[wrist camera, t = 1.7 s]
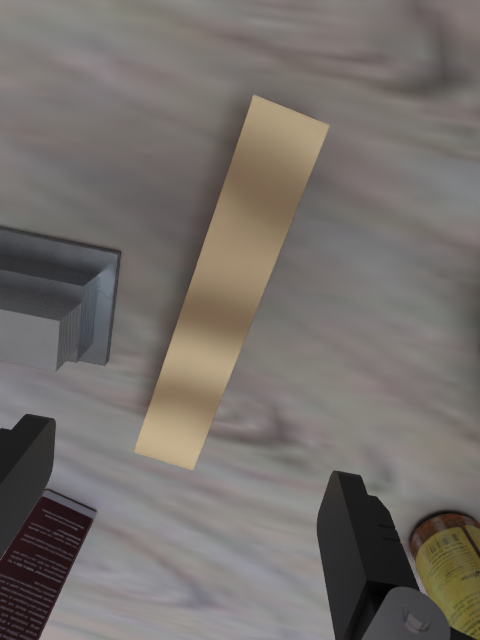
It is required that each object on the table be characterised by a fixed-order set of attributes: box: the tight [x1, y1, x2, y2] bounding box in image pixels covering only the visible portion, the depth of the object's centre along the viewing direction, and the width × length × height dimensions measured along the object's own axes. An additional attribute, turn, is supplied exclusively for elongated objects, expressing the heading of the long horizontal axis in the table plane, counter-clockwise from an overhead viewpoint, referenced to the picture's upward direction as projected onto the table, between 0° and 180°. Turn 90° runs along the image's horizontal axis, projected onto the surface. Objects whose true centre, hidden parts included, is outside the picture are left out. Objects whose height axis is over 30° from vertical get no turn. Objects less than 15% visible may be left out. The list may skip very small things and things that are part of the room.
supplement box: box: [0, 490, 96, 640], centre depth 30 cm, size 9×5×16 cm, turn 150°
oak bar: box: [134, 95, 330, 470], centre depth 28 cm, size 22×4×5 cm, turn 160°
